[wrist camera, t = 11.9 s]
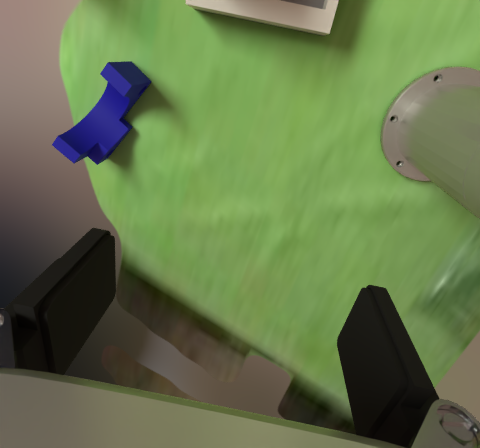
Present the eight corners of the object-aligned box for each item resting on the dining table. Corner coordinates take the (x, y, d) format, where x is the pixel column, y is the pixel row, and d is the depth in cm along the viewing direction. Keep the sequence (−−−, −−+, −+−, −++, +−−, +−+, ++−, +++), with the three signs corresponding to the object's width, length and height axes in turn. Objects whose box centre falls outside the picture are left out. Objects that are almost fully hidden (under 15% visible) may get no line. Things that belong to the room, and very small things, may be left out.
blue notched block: (108, 157, 42) (84, 172, 37) (80, 133, 41) (51, 144, 36) (161, 91, 38) (143, 97, 32) (132, 61, 36) (108, 62, 31)
